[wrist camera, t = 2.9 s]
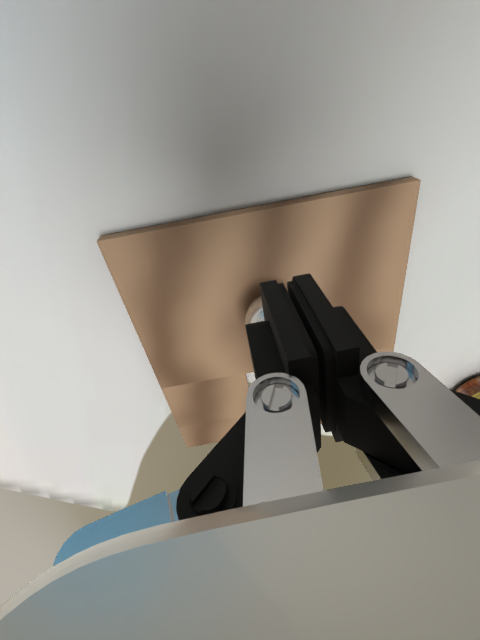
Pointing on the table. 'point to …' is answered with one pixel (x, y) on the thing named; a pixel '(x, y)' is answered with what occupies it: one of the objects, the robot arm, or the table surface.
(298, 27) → the table surface
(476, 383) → the sauce bottle
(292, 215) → the walnut board
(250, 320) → the steel ball
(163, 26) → the table surface
